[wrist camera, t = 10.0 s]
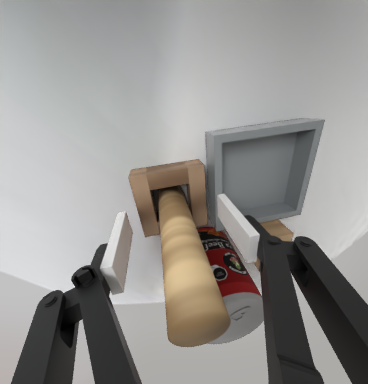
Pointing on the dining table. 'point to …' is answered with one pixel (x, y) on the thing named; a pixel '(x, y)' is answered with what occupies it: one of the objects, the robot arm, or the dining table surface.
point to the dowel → (187, 276)
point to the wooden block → (276, 233)
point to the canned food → (232, 285)
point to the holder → (167, 177)
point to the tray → (262, 167)
